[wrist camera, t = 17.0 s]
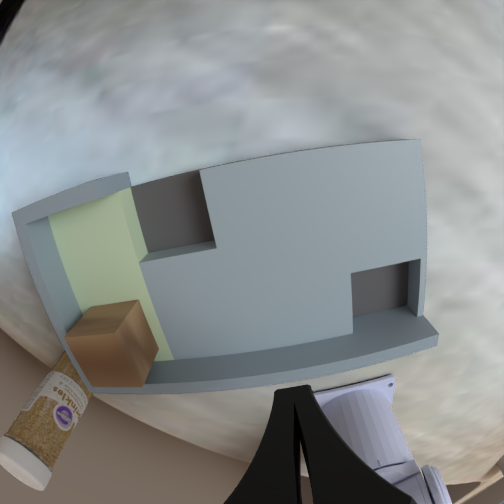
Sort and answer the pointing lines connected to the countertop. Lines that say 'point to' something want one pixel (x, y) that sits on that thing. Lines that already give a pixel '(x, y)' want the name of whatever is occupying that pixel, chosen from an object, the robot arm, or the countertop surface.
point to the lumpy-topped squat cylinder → (501, 464)
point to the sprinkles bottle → (44, 425)
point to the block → (114, 345)
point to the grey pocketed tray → (246, 264)
